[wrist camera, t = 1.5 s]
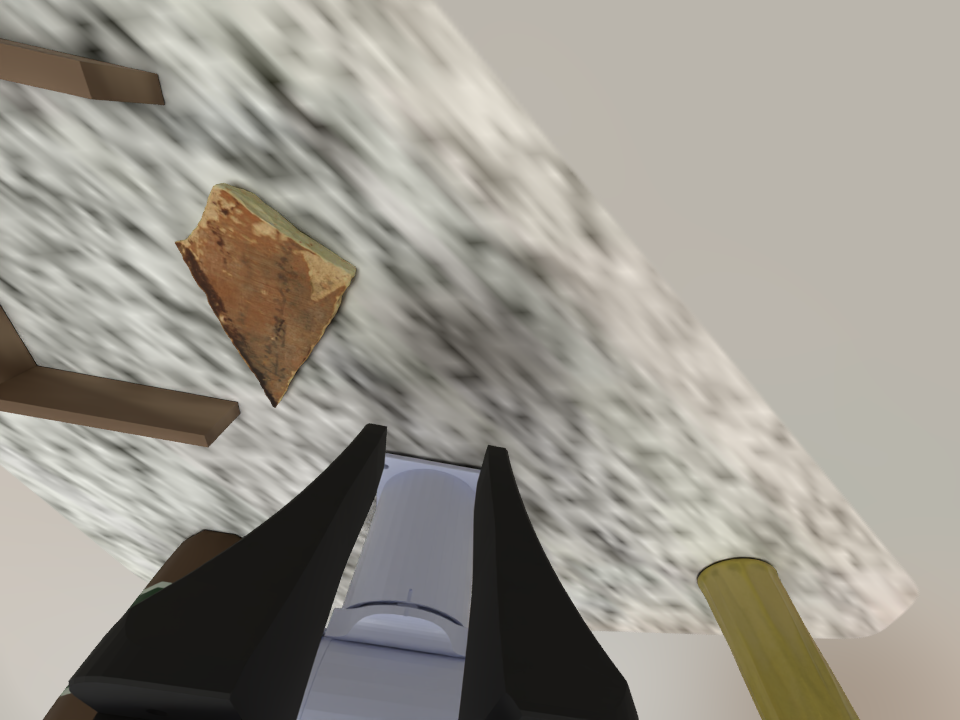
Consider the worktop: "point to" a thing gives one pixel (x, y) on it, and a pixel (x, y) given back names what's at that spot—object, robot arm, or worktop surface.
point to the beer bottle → (68, 711)
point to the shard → (264, 283)
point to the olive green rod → (772, 643)
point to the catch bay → (72, 396)
